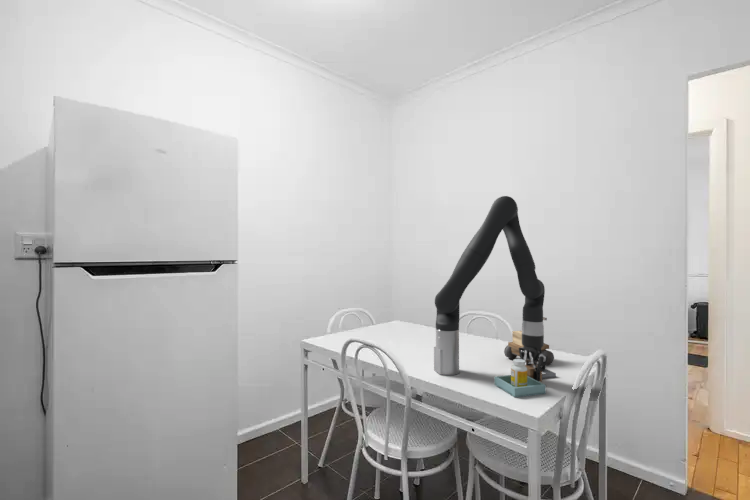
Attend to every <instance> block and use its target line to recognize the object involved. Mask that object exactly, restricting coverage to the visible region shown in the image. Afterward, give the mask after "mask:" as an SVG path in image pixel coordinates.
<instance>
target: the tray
mask: <svg viewBox="0 0 750 500" xmlns="http://www.w3.org/2000/svg"><path fill="white" fill-rule="evenodd" d="M494 386H496V387H497V388H499V389H500V390H502V391H504V392H505V393H507V394H508V395H510V396H512V397H513V398H521V397H531V396H538V395H546V391H547V389H546V388H547V386H546V384H545V383H543V382H539V381H537V380H535V379H533V378H531V377H529V376H527V386H523V387H514V386H512V385H511V374H508V375H506V374H505V375H498V376H497V375H496V376H494Z"/></svg>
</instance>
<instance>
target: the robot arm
mask: <svg viewBox="0 0 750 500" xmlns="http://www.w3.org/2000/svg"><path fill="white" fill-rule="evenodd" d="M518 208H519V207H518V204H517V202H516V200H515V199H514V198H513V197H511V196H508V195H502V196H500V197H497V198H496V199H495V200H494V201H493V202H492V204H491V207H490V209H489V211H488V214H487V215H486V217H485V219H484V221H483V223H482V224H481V225H480V227H479V229H478V230H477V232H475V234H474V236H473V237H472V238H471V240H470V241H469V243H468V244H467V245H466V247H465V249H464V251H463V252H462V254H461V255H460V257H459V259H458V261H457V263H456V265H455V267H454V269H453V271H452V273H451V275H450V277H449V279H448V280H447V281H446V283H445V284H444V285H443V287H441V289H440V291H438V292H437V294H436V295H435V298H434V306H435V308H436V316H435V317H436V318H435V346H434V347H433V370H434V371H435V372H436V373H438V375H442V376H443V375H444V376H454V375H458V374H460V300H461V299H462V298H463V297H462V296H463V295H464V293H465V290H466V289H467V287H468V286H469V285H470V283H471V282H472V281H473V280H474V279H475V278H476V276H477V275H478V273H480V272H481V270H482V268H483V267H484V266H485V264H486V263H487V261H488V260H489V258H490V256H491V254H492V252H493V249H494V247H495V246H496V242H497V239H498V237H499V235H500V234H501V233H502V231H503V234H504V236H505V239H506V242H507V245H508V250H509V254H510V257H511V260H512V263H513V266H514V267H515V271H516V274H517V280H518V285H519V288H520V292H521V293H522V295H523V296H524V303H523V304H524V305H523V307H522V323H521V331H522V345H524V347H521V348H519V354H520V357H519V359H523V357H524V359H523V360H525V365H533V369H534V372H533V379H535V380H537V381H540V371H544V370H545V369H546V367H547V365H546V363H547V360H548V357H547V356H544V355H543V354H542V351H541V348H542V347H543V346H544V341H545V340H544V339H545V338H544V337H545V336H544V335H545V334H544V333H545V327H544V326H545V325H544V320H543V317H544V309H543V308H544V302H545V301H544V300H545V291H546V289H545V285H544V283H543V282H542V281H541V279H538V276H537V273H536V265H535V264H536V263H535V261H534V258H533V255H532V253H531V249H530V247H529V246H528V243H527V240H526V239H525V235H524V234H523V231H522V227H521V224H520V219H519V218H520V217H519V213H518V212H519V211H518V210H519V209H518ZM534 361H536V362H534ZM525 365H524V366H525ZM536 365H537V368H536Z"/></svg>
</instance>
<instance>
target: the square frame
mask: <svg viewBox="0 0 750 500" xmlns="http://www.w3.org/2000/svg"><path fill="white" fill-rule="evenodd" d="M551 378H557V374H556V372H555V371H552V370H549V369H547V368H545V370H544V371H542V380H543V379H551Z"/></svg>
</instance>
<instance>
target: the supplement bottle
mask: <svg viewBox="0 0 750 500" xmlns="http://www.w3.org/2000/svg"><path fill="white" fill-rule="evenodd" d="M512 363H513V364H512V365H511V367H510V375H511V385H512V386H514V387H523V386H527V367H526V366H524V365H525V360H523V359H520V358H515V359H512Z"/></svg>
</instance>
